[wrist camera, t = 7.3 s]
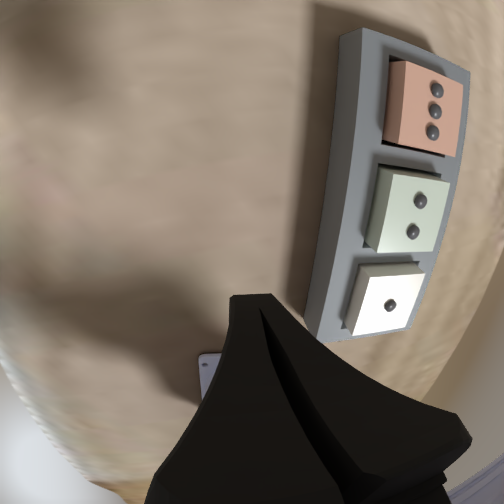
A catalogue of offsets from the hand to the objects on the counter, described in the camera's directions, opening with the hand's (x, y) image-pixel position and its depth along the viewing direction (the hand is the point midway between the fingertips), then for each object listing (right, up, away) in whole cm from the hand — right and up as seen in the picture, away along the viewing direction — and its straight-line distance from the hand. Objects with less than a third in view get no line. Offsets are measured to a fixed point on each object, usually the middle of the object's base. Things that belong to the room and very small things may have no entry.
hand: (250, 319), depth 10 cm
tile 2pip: (+9, +6, +10) cm, 15 cm away
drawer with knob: (+9, 0, +13) cm, 16 cm away
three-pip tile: (+10, +12, +7) cm, 17 cm away
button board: (+9, +6, +10) cm, 15 cm away
